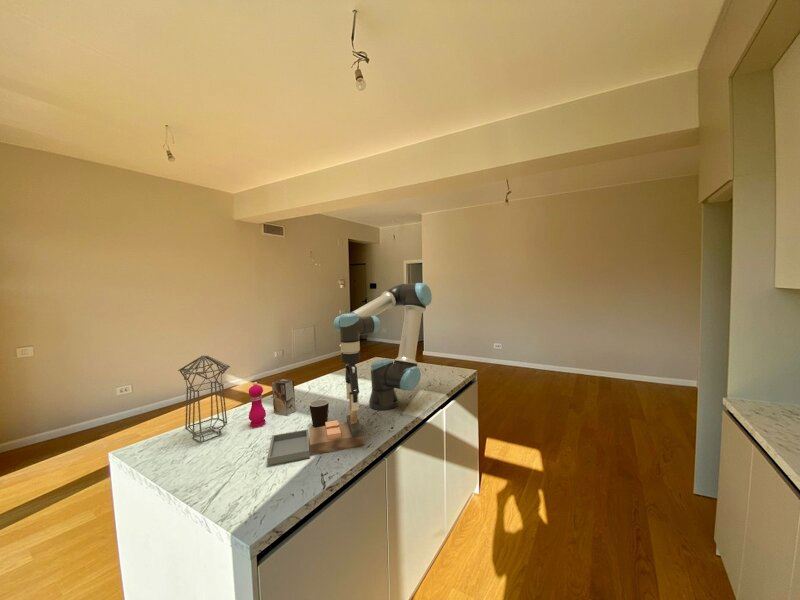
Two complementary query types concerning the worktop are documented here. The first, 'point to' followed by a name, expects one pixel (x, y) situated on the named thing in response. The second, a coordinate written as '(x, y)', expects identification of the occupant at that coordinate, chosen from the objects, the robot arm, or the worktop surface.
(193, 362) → the geometric lantern
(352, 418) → the scraper
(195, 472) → the worktop surface
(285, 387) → the coffee box
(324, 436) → the brown flat wooden block
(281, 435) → the tray
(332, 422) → the tile
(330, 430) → the tile
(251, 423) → the pepper mill
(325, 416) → the coffee mug
